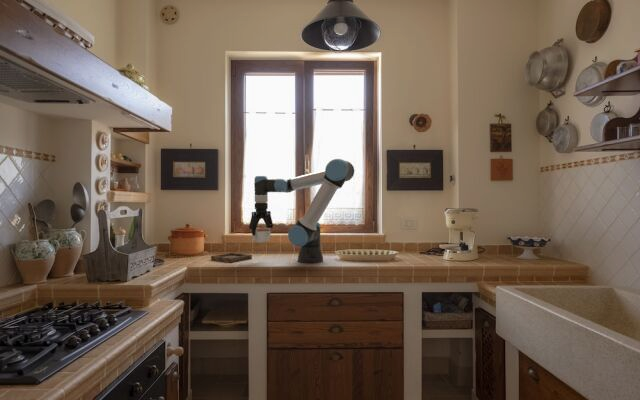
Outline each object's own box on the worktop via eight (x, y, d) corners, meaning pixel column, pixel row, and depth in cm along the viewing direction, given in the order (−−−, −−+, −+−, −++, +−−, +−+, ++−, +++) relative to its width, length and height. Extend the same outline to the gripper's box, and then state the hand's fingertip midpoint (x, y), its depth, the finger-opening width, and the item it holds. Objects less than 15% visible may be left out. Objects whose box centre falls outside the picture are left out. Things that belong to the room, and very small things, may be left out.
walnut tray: (251, 259, 240) (251, 254, 240) (230, 262, 226) (230, 258, 226) (232, 256, 249) (232, 252, 249) (211, 260, 235) (211, 256, 235)
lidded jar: (261, 243, 222) (261, 226, 222) (248, 242, 229) (248, 226, 229) (274, 241, 231) (274, 225, 231) (261, 240, 237) (261, 224, 237)
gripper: (269, 202, 241) (270, 238, 241) (242, 202, 222) (242, 241, 222) (278, 202, 237) (279, 238, 237) (251, 202, 218) (252, 242, 218)
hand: (261, 240), depth 230 cm, fingers closed on lidded jar, 11 cm apart
